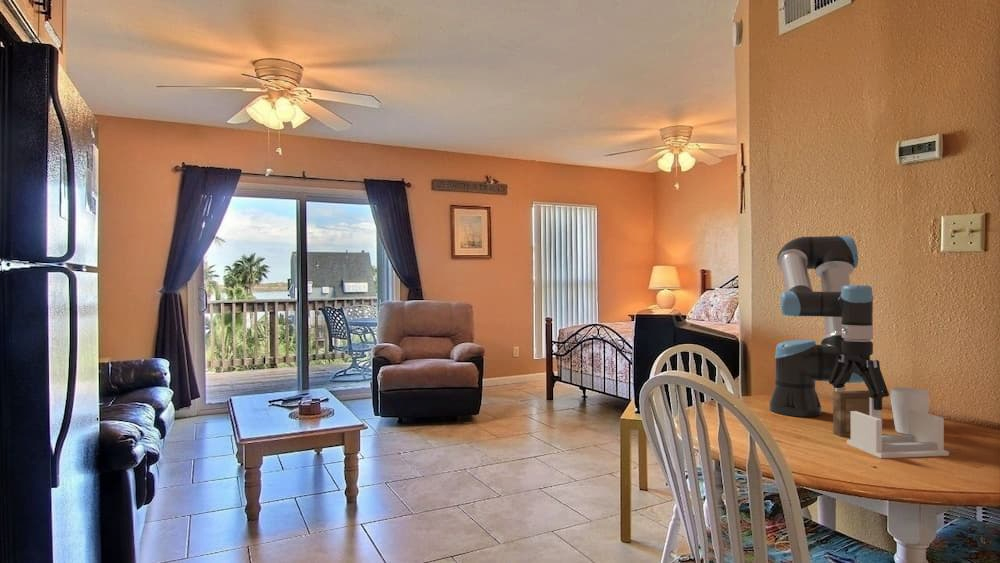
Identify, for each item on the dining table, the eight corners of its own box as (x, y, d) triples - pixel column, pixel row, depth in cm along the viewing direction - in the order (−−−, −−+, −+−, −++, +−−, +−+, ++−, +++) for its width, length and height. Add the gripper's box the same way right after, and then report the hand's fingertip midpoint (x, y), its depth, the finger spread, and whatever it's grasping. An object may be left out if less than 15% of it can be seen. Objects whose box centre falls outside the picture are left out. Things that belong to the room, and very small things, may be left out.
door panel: (833, 433, 160) (833, 391, 160) (872, 432, 161) (872, 390, 161) (841, 436, 157) (841, 393, 157) (881, 435, 158) (881, 392, 158)
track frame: (846, 443, 150) (846, 409, 150) (909, 441, 152) (909, 408, 152) (880, 458, 139) (880, 421, 138) (948, 455, 140) (949, 419, 140)
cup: (936, 437, 155) (936, 394, 155) (899, 436, 157) (899, 393, 157) (919, 429, 164) (919, 387, 164) (884, 427, 166) (884, 386, 166)
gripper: (815, 336, 171) (815, 406, 171) (877, 344, 146) (878, 427, 146) (839, 335, 172) (839, 406, 172) (905, 344, 147) (905, 426, 147)
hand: (857, 416), depth 159 cm, fingers open, 13 cm apart
